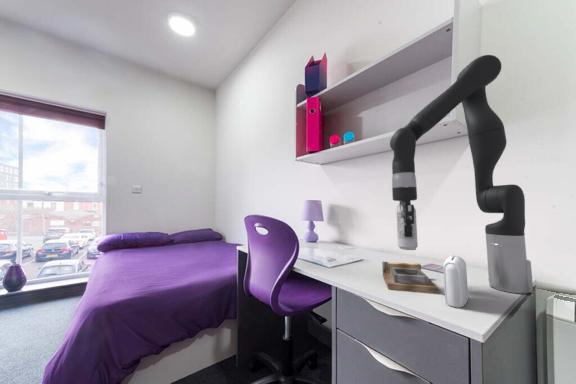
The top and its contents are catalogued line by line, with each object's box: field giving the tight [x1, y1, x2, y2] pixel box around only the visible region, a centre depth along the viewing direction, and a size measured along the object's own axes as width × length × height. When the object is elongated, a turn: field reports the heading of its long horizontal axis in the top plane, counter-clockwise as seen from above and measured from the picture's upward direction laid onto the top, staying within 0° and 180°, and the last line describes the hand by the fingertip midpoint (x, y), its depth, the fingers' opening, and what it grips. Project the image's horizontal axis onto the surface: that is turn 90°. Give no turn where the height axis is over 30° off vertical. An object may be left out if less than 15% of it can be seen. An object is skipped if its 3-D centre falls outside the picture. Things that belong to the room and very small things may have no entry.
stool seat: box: [382, 267, 440, 295], centre depth 76 cm, size 14×13×4 cm
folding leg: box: [381, 261, 422, 274], centre depth 84 cm, size 13×2×5 cm, turn 78°
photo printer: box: [443, 255, 469, 309], centre depth 63 cm, size 10×4×12 cm, turn 134°
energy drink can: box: [395, 204, 418, 251], centre depth 77 cm, size 6×6×15 cm
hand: (406, 235), depth 77 cm, fingers closed on energy drink can, 6 cm apart
